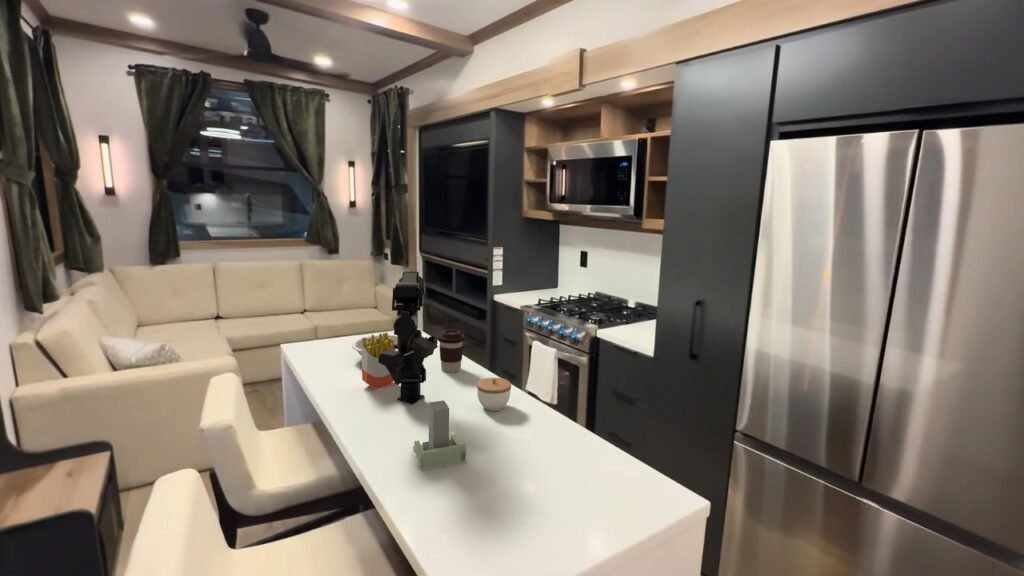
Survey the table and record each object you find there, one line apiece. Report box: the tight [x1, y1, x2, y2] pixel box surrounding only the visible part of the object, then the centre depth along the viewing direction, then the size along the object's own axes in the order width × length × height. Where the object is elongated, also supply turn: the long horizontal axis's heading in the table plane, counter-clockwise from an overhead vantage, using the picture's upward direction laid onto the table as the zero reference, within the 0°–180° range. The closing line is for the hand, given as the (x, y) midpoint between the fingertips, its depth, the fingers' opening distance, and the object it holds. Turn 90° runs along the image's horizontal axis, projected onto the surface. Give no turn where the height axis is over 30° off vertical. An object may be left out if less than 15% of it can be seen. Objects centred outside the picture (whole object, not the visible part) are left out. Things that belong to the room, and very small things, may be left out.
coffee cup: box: [437, 329, 466, 373], centre depth 178 cm, size 10×10×15 cm
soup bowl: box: [351, 334, 398, 357], centre depth 189 cm, size 24×24×7 cm
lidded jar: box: [476, 377, 512, 412], centre depth 148 cm, size 11×11×9 cm
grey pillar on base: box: [421, 400, 453, 451], centre depth 119 cm, size 6×7×13 cm
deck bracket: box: [412, 433, 467, 472], centre depth 119 cm, size 11×11×4 cm
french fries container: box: [361, 331, 396, 390], centre depth 161 cm, size 5×11×18 cm, turn 129°
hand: (407, 379), depth 136 cm, fingers open, 9 cm apart
